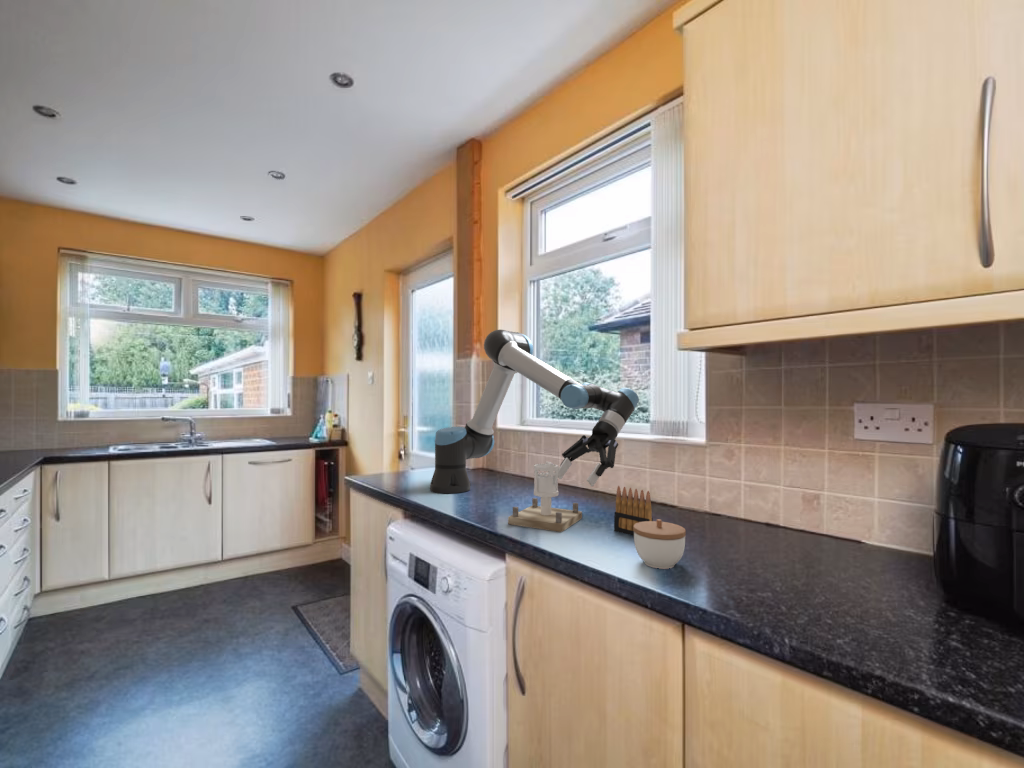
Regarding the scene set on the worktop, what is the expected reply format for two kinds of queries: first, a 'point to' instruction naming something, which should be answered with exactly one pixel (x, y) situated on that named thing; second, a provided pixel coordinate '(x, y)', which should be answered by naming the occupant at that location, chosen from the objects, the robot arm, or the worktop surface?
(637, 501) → the ammunition clip
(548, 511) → the white stemmed cylinder
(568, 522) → the board
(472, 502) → the worktop surface
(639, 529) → the lidded jar
